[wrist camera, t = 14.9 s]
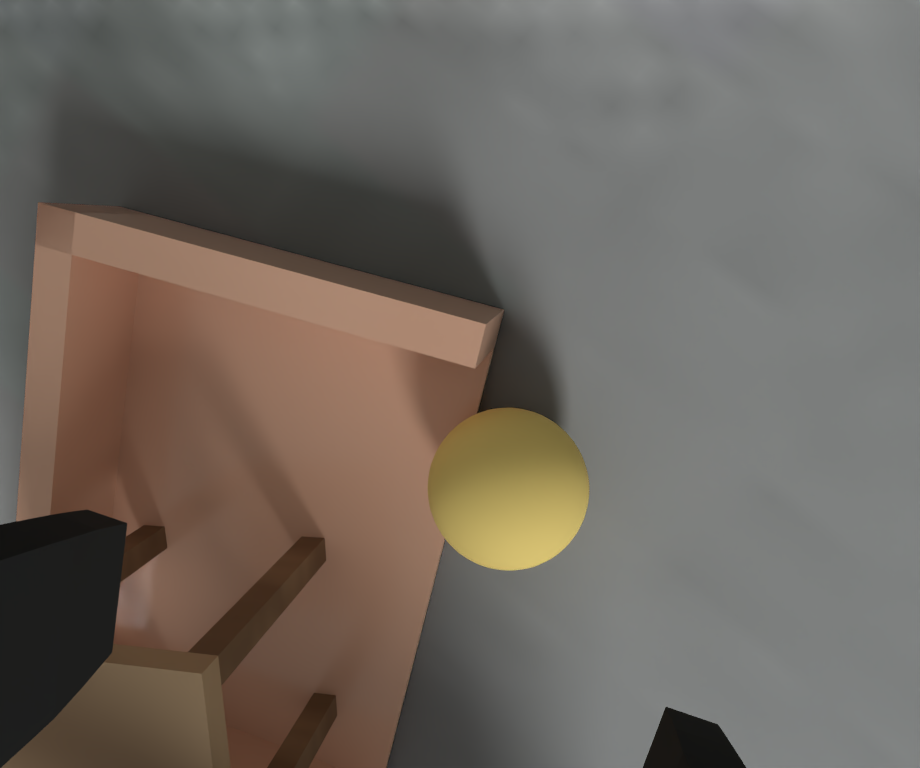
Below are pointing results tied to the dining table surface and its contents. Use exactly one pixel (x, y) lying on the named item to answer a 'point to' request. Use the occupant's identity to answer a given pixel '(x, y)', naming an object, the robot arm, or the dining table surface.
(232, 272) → the tray
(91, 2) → the dining table surface
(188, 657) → the brown stool
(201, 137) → the dining table surface
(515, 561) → the ball
